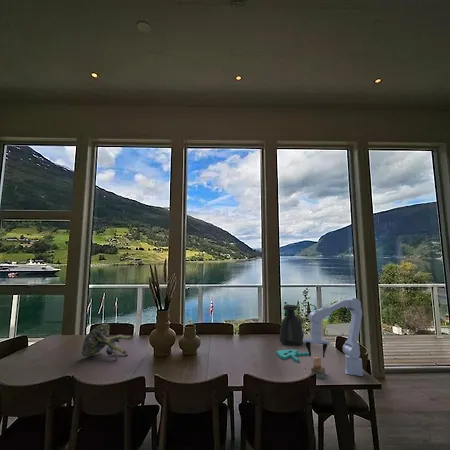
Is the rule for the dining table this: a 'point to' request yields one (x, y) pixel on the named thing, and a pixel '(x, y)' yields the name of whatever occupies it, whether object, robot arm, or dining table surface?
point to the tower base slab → (319, 375)
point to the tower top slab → (318, 370)
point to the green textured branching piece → (102, 341)
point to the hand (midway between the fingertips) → (316, 356)
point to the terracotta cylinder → (317, 362)
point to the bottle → (291, 327)
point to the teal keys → (290, 354)
